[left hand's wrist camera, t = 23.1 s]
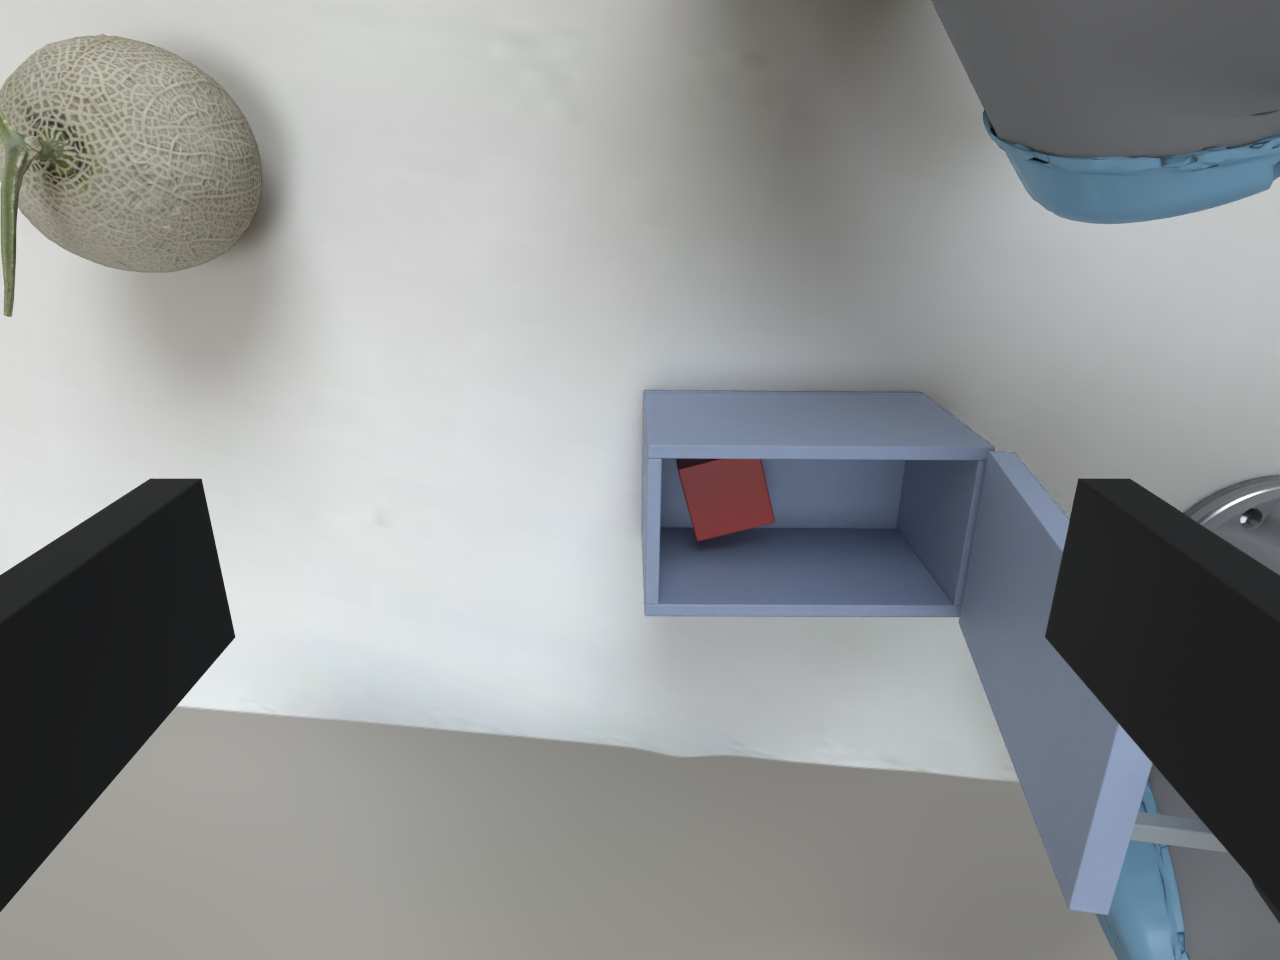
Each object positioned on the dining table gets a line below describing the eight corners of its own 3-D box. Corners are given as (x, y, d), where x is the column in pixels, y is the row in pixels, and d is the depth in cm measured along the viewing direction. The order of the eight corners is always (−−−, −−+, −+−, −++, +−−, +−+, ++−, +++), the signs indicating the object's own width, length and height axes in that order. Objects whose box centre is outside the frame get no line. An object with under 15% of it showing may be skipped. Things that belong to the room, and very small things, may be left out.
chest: (641, 532, 53) (644, 616, 43) (643, 389, 50) (647, 444, 40) (902, 534, 53) (965, 617, 43) (921, 392, 50) (995, 447, 40)
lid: (1068, 910, 26) (1355, 951, 25) (1137, 654, 23) (1474, 687, 21) (958, 622, 43) (1126, 638, 42) (988, 450, 39) (1172, 462, 38)
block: (691, 510, 52) (697, 542, 47) (673, 443, 50) (677, 469, 46) (762, 492, 51) (775, 522, 47) (747, 424, 50) (758, 448, 45)
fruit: (192, -4, 42) (-26, -94, 28) (332, 198, 45) (201, 209, 31) (44, 109, 43) (-233, 78, 29) (190, 295, 47) (6, 347, 33)
